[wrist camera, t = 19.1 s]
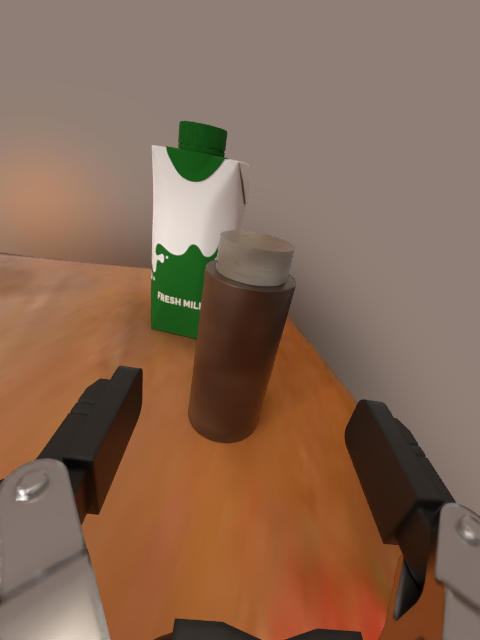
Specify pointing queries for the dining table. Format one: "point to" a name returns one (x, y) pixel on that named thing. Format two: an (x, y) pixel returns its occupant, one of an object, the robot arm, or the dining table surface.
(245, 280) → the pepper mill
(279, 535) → the dining table surface
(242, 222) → the milk carton
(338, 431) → the dining table surface
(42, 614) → the robot arm
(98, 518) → the dining table surface
